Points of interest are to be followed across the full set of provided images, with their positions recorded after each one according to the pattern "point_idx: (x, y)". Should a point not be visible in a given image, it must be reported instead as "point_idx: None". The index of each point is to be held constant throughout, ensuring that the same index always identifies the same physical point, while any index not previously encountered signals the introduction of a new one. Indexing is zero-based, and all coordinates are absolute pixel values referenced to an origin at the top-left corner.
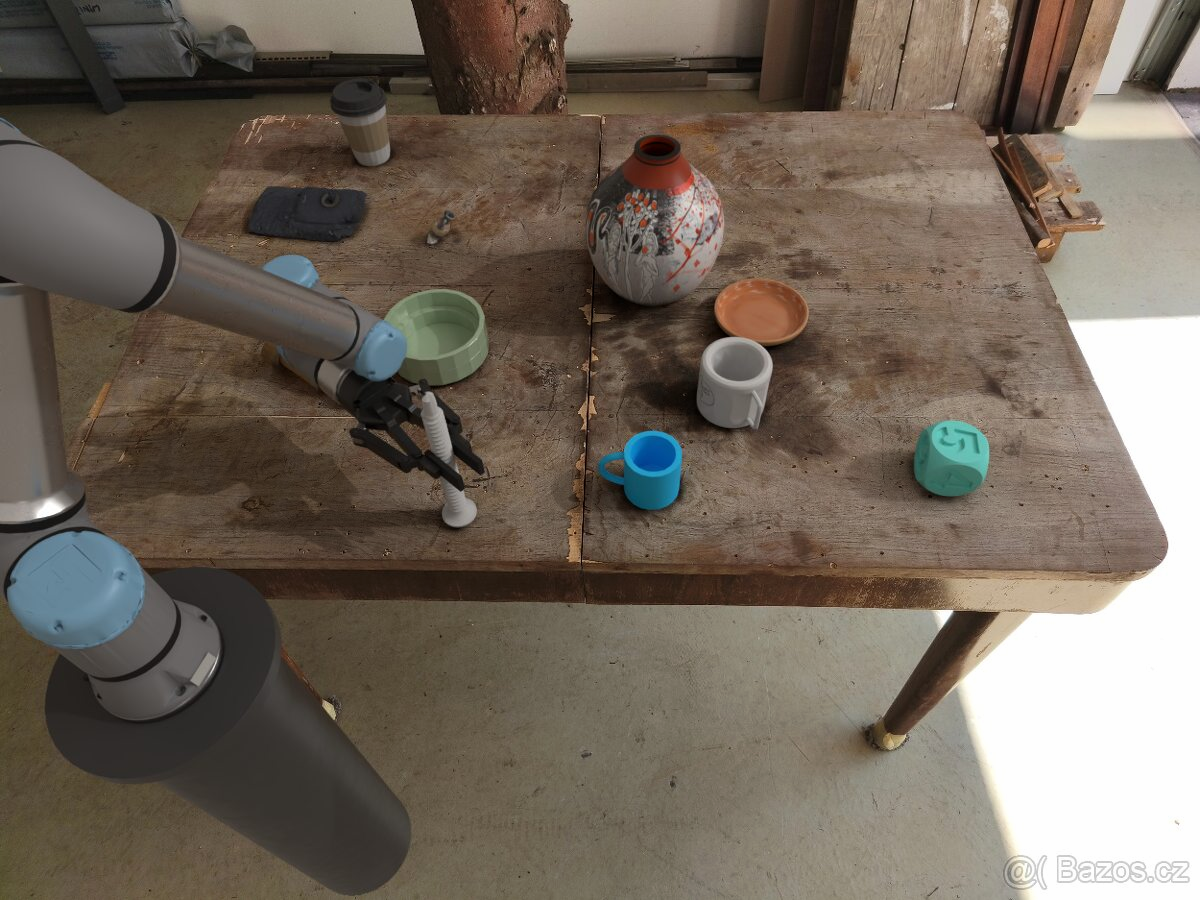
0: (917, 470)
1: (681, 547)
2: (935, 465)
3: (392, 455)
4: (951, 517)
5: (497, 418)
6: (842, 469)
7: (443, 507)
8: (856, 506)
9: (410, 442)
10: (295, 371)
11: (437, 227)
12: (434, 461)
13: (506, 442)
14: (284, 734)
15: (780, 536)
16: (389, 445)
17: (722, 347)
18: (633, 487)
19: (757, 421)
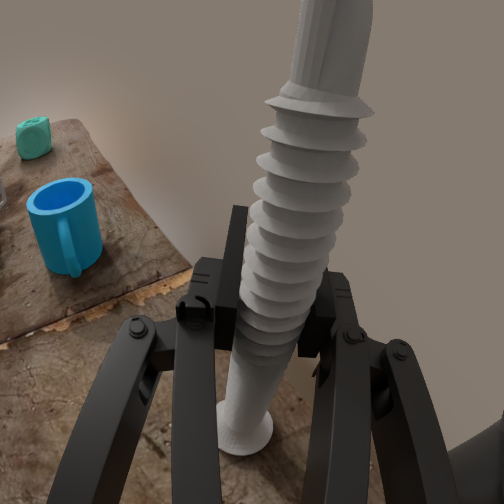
0: (37, 151)
1: (134, 213)
2: (45, 127)
3: (423, 387)
4: (64, 145)
5: (25, 480)
6: (34, 175)
7: (252, 453)
8: (63, 165)
9: (345, 389)
10: None
11: None
12: (328, 278)
13: (61, 444)
14: (458, 447)
15: (98, 179)
16: (413, 431)
17: None
18: (93, 228)
19: (3, 189)
